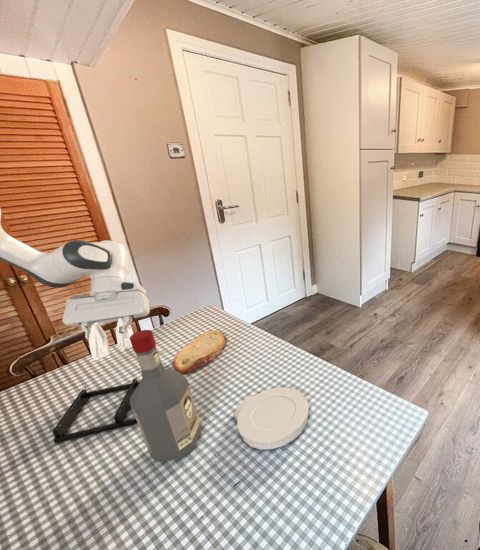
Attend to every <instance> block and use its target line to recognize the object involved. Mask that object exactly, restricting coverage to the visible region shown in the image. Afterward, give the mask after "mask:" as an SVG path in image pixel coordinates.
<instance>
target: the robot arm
mask: <svg viewBox="0 0 480 550" xmlns="http://www.w3.org/2000/svg"><path fill="white" fill-rule="evenodd" d="M1 221H2V209H1V208H0V261H3V262H4V263H7V264H9V265H11V266H12V267H15V268H17V269H19V270H21V271H23V272H25V273H26V274H28V275H29V276H31V277H32V278H33V279H35V280H36V281H37V282H39V283H40V284H41V285H44V286H46V287H50V288H57V289H60V288H66V287H69V286H71V285H73V284H74V283H76V282H77V281H78V280H80V279H82V278H83V277H86V278H89V279H90V287H89V289H90V290H89V293H84V294H76V295H73V296H72V297H70V298H68V299H67V300H66V302H65V308H64V312H63V316H62V323H63V324H64V325H65V326H67V327H70V328H76V327H80V328H81V329H82V330H83V332H84V333H85V334H84V335H85V336H84V338H85V339H86V340H89V335H90V330H91V327H92V325H94V323H99V324H103V323H109V322H115V321H117V322H118V319H119V318H120V317H121V318H123V320H124V321H125V322H124V324H123V326H121V327H119V333H120V334H123V333H127V329H128V327H129V325H131V324H132V323H133V319H136V318H144V317H147V316H148V315H149V314H150V312H151V307H150V300H149V298H148V296H146V295H147V289H145V288H144V287H143V286H142V285H141V284H139V283H138V282H131V281H129V279H128V275H129V272H130V257H129V252H128V250H127V247H126V246H124V244H122V243H121V242H118V241H114V240H109V239H107V240H106V239H105V240H100V241H97V242H95V241H94V242H91V241H86V240H83V239H82V240H81V239H73V240H70V241H68V242H66V243H64V244H62V245H61V246H59V247H57V248H56V249H54V250H52V251H51V252H43V251H40V250H37V249H35V248H34V247H32V246H30V245H28V244H26V243H24V242H22V241H20V240H19V239H17V238H15V237H12V235H10V234H8V233H7V232H6V231H5V230H4V229H3V227H2V223H1Z"/></svg>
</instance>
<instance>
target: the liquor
mask: <svg viewBox="0 0 480 550" xmlns="http://www.w3.org/2000/svg"><path fill="white" fill-rule="evenodd" d="M130 341H131V344H132V346H131V347H132V349H133V352H134V353H135V355H136V358H137V361H138V364H139V367H140V370H141V380H140V381H139V382H140V383H139V385H138V386H137V388H136V389H135V391H134V392H133V394H132V395H131V397H130V405H131V406H130V407H131V410H132V413H133V415H134V418H136V420H137V425H138V427H139V430H140V433H141V435H142V437H143V440H144V443H145V445H146V448H147V450H148V453H149V455H150V456H151V458H152V459H153V460H154V461H155V462H157V463H160V462H168V461H174V460H182V459H183V458H185V457H187V456H188V455H190V453H192V452H193V451H194V449H195V446H196V445H197V442H198V439H199V438H200V435H201V432H202V429H203V428H202V425H201V422H200V421H201V420H200V418H199V415H198V411H197V408H196V405H195V401H194V398H193V394H192V390H191V387H190V384H189V381H188V378H186V377H185V376H184V375H183V374H181V373H179V372H177V371H175V370H174V369H169V368H166V367H165V366H164V365H163V363H162V361H161V357H160V354H159V352H158V349H157V343H156V339H155V337H154V334H153V331H152V330H150V329H142V330H139V331H136V332H133V335H131V336H130Z"/></svg>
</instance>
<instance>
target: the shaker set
mask: <svg viewBox="0 0 480 550" xmlns="http://www.w3.org/2000/svg"><path fill="white" fill-rule="evenodd" d="M124 322H125V321H124V320H123V318H121V317H120V318H119V319H118V320H117V323H116V327H115V337H116V343H117V348H119V351H124V350H125V349H126V348H131V347H132V344H131V341H130V336H131V335H133V334H134V331H133V328H132V326H131V324H130V325H129V327H128V329H127V333H123V334H120V333H119V327H121V326H123V324H124ZM88 346H89V351H90V354H91V358H92V361H94V362H98V361H100V360H102V359H103V358H105V357H107V356H109V355H111V353H112V352H111V348H110V343H109V339H108V335H107V333H106V331H105V330H104V329H103V327H102V326H101V323H94V324H91V328H90V335H89V339H88Z"/></svg>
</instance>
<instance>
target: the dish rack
mask: <svg viewBox="0 0 480 550" xmlns="http://www.w3.org/2000/svg"><path fill="white" fill-rule="evenodd" d="M139 383H140V381H138V379H137V378H133V379H132V381H131V383H125V384H121V385H116V386H112V387H107V388H101V389H96V390H92V391H87V389H86V388H83V389H81V390H80V392H79V393H78V395H77V396H76V397H75V399H74V400H73V402H72V403H71V405H70V406H69V407H68V409H67V410H66V411H65V412H64V414H63V416H62V417H61V419H60V420H59V421H58V423H57V424H56V425H55V427H54V428H53V430H51V431H52V434H53V436H54V438H53V442H54V444H59V443H63V442H67V441H71V440H75V439H79V438H83V437H84V438H85V437H88V436H91V435H92V436H93V435H96V434H100V433H104V432H108V431H112V430H117V429H120V428H124V427H129V426H133V425H136V424H137V425H138V423H137V420H136V418H135V417H134V418H130V419H126V420H125V418H126V416H127V414H128V412H129V410H130V407H131V405H130V397H131V395H132V394H133V392H134V391H135V389H136V388H137V386H138V385H139ZM125 390H127V391H126V392H125V394H124V396H123V398H122V400H121V402H120V404H119V406H118V408H117V410H116V412H115V414H114V416H113V420H114V422H113V423H110V424H103V425H101V426H97V427H92V428H88V429H84V430H79V431H76V432H71V433H67V432H68V430H69V428H70V427H71V425H72V424H73V423H74V421H75V419H76V418H77V417H78V415H79V413H80V412H81V410H82V409H83V408H84V406H85V404H86V403H87V401H88V400H89V399H90V398H91V397H96V396H100V395H106V394H110V393H115V392H120V391H125ZM66 433H67V434H66Z"/></svg>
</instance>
